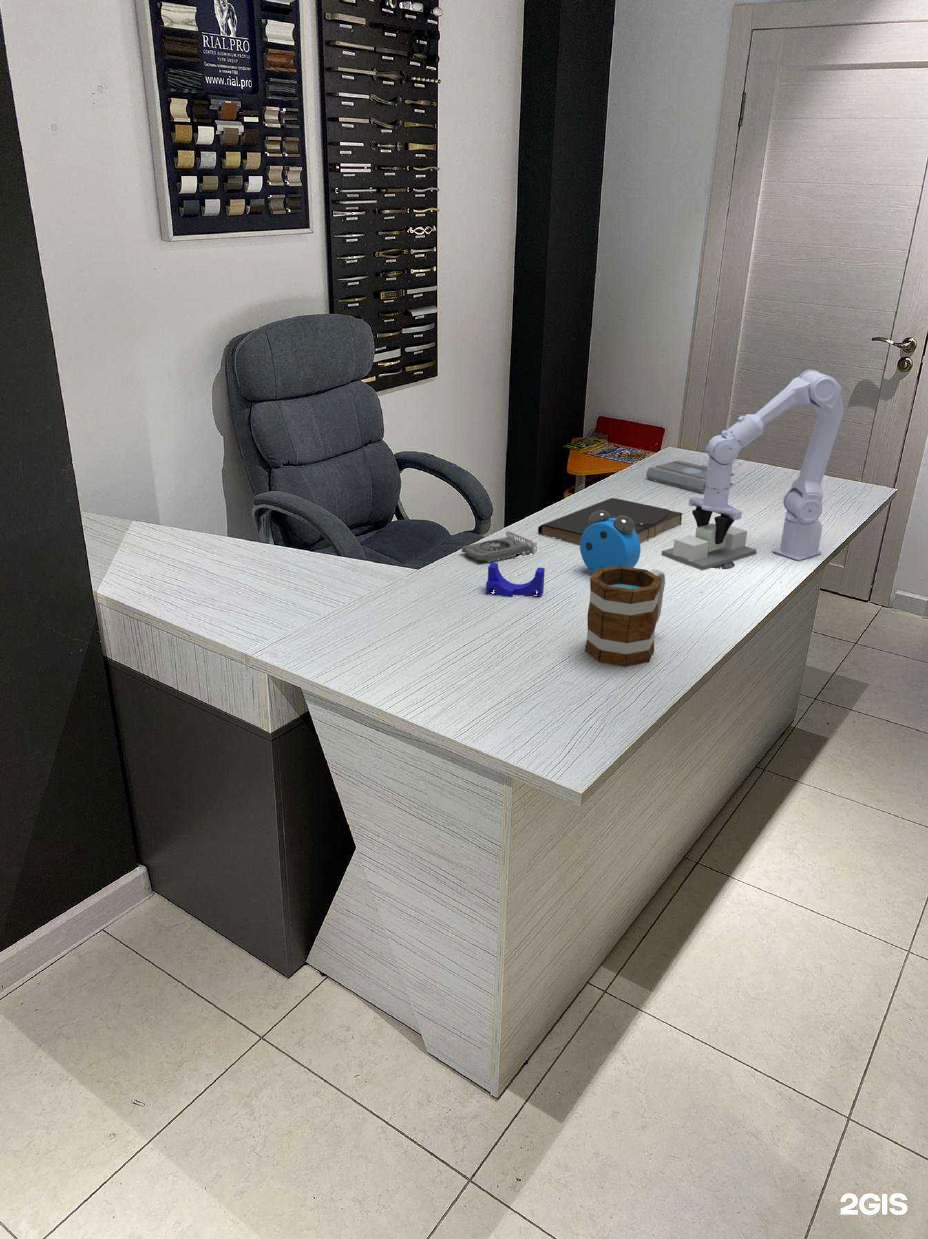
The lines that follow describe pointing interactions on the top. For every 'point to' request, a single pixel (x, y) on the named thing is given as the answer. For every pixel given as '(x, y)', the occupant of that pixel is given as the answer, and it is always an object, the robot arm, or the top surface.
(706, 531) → the block
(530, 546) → the graphics card
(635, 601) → the mug
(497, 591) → the blue cradle bracket
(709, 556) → the rail board
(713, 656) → the top surface
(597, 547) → the alarm clock
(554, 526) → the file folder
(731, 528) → the mounted modules
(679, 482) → the book
